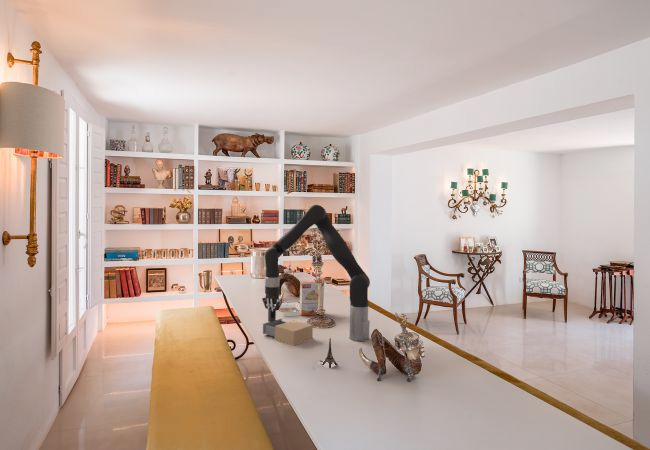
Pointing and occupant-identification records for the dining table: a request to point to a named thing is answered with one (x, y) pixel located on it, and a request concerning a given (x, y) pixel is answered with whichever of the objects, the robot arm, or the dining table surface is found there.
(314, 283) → the cracker box
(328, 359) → the eiffel tower figurine
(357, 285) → the robot arm
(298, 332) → the mailer sleeve
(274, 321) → the tray
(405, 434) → the dining table surface
